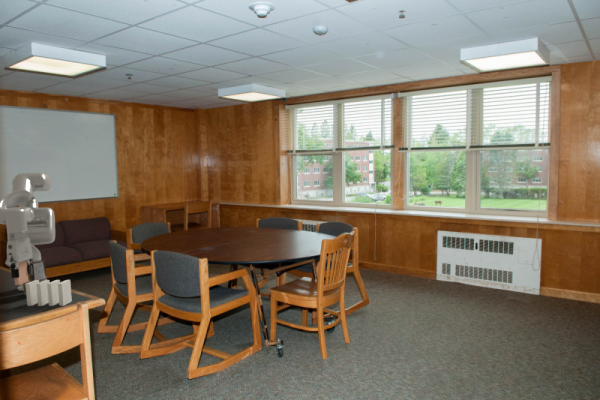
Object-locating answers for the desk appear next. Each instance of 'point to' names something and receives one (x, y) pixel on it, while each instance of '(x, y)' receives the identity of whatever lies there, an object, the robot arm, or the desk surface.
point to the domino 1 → (22, 273)
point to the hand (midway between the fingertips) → (21, 275)
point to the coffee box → (36, 272)
